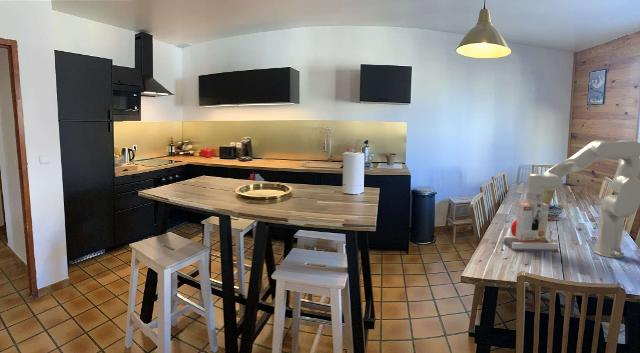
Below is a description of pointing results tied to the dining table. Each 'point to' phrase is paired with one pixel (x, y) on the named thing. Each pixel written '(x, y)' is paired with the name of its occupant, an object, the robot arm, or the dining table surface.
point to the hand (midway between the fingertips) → (531, 227)
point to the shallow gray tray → (529, 245)
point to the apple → (514, 228)
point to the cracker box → (530, 224)
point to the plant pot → (547, 195)
